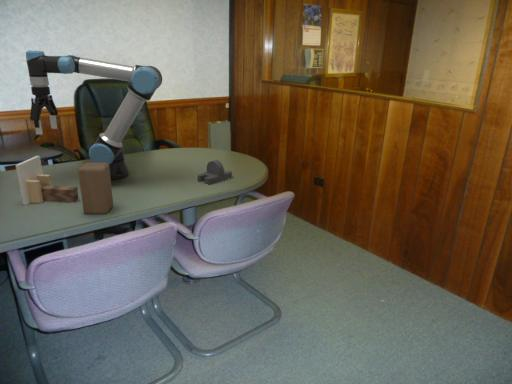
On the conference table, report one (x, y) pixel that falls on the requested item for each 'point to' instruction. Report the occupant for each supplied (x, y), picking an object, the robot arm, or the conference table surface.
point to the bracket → (214, 173)
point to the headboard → (32, 180)
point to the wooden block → (95, 188)
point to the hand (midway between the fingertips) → (47, 131)
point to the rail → (59, 193)
